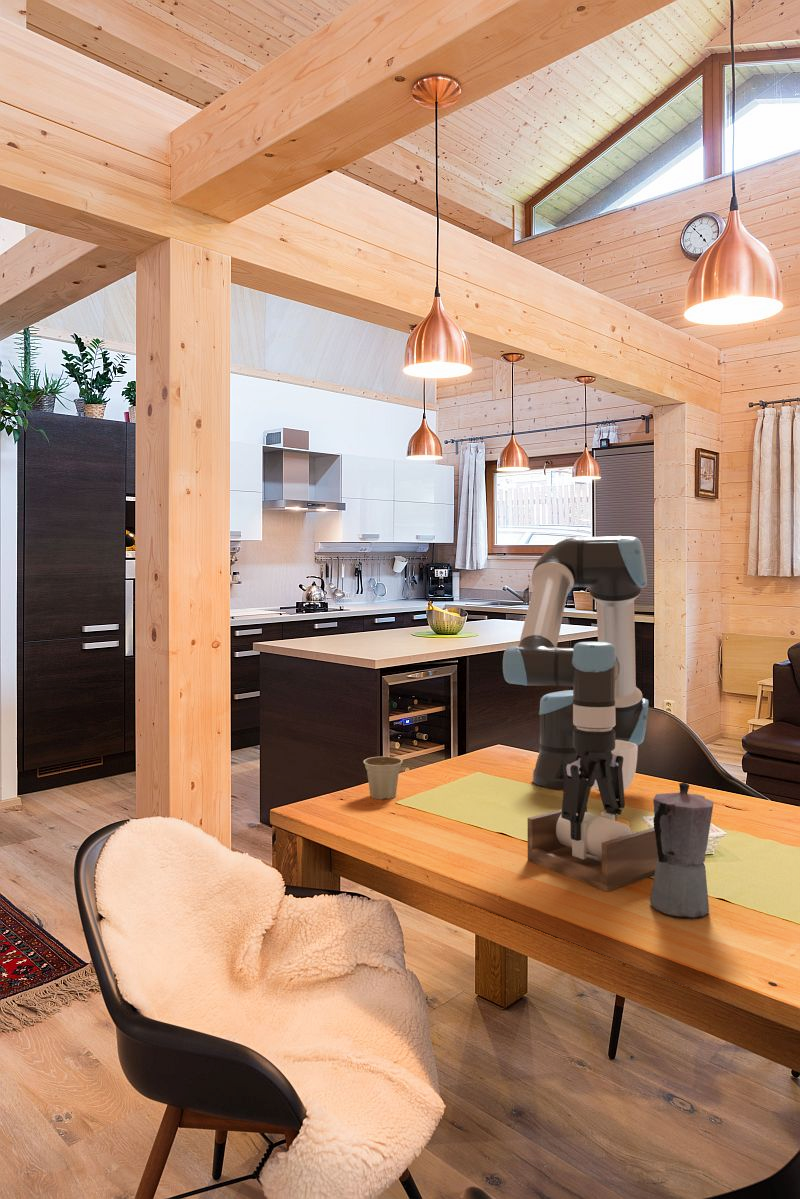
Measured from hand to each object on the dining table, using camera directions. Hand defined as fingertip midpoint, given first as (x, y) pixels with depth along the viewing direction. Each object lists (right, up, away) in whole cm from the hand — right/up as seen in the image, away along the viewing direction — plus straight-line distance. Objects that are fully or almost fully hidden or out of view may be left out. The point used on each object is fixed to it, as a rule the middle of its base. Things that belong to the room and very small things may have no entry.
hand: (593, 852), depth 149 cm
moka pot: (+9, -3, -19) cm, 22 cm away
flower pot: (-39, -2, +48) cm, 62 cm away
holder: (0, -3, 0) cm, 3 cm away
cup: (+9, -2, +25) cm, 27 cm away
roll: (-1, 0, 0) cm, 1 cm away
